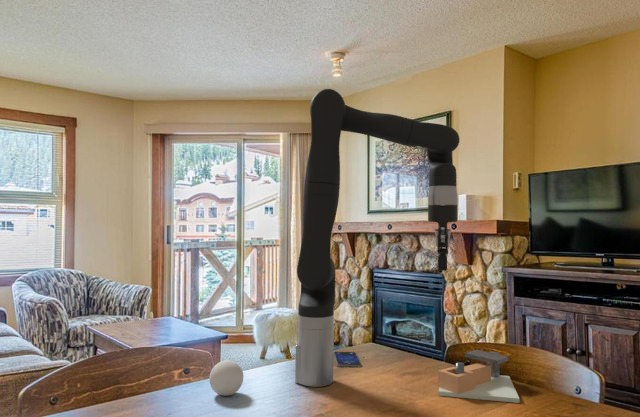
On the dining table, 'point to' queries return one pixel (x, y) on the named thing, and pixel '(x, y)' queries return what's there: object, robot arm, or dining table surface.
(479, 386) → the board
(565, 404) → the dining table surface
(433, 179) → the robot arm
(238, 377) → the ball
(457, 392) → the link
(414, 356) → the dining table surface
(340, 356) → the smartphone
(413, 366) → the dining table surface
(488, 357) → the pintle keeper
